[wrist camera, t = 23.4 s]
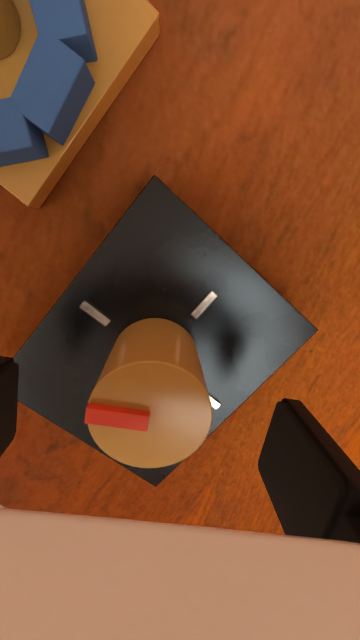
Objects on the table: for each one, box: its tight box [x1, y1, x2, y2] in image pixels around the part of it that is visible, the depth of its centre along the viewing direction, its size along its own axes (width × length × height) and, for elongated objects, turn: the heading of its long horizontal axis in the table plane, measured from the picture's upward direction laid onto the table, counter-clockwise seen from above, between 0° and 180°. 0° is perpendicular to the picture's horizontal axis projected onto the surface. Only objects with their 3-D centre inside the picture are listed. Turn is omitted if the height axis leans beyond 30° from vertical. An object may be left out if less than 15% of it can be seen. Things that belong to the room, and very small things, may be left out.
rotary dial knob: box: [84, 318, 213, 468], centre depth 11 cm, size 4×4×5 cm
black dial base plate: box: [13, 175, 318, 486], centre depth 14 cm, size 12×10×3 cm
